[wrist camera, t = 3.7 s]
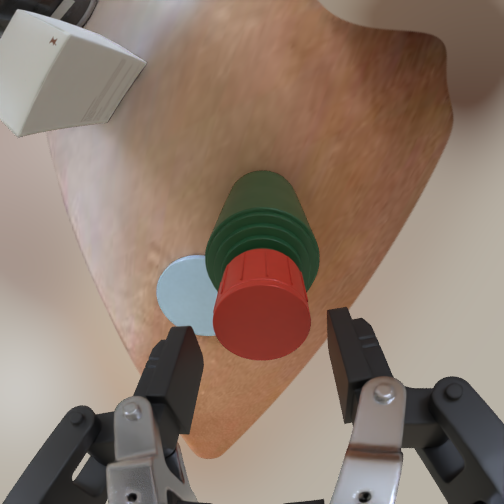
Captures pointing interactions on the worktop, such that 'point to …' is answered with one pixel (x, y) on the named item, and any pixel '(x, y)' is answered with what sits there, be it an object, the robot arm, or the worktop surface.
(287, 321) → the cap
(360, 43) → the worktop surface
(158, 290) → the saucer
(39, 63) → the white packaging box
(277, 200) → the sauce bottle
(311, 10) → the worktop surface
